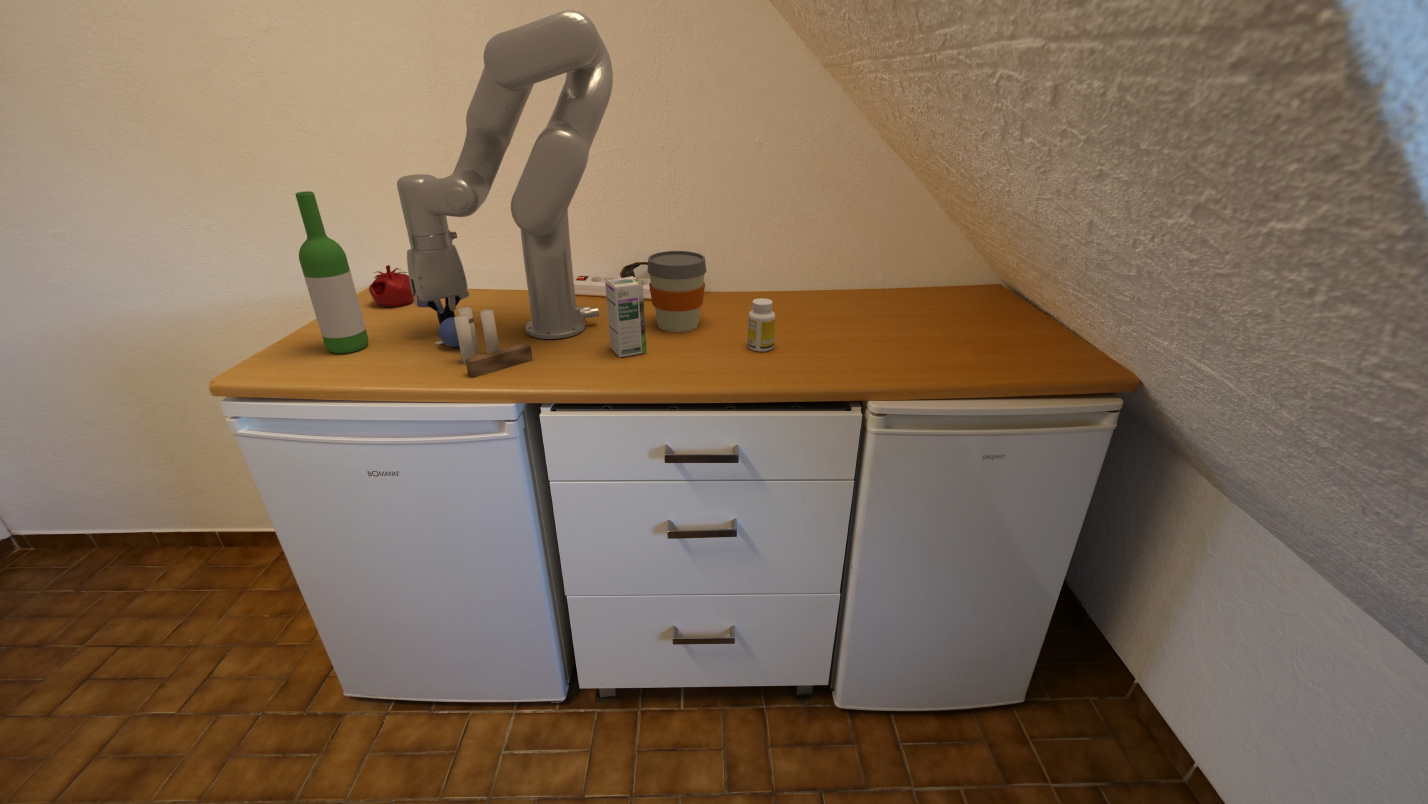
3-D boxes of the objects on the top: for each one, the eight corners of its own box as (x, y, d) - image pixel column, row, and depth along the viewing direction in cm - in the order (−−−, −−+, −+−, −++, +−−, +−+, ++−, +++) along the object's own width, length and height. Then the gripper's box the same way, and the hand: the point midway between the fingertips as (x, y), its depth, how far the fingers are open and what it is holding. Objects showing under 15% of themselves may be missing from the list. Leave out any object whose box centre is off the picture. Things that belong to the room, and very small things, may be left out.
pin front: (478, 348, 126) (470, 305, 122) (480, 352, 124) (472, 309, 120) (465, 350, 125) (457, 307, 121) (467, 355, 123) (458, 311, 119)
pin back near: (499, 351, 125) (492, 308, 120) (501, 356, 123) (494, 312, 118) (486, 353, 124) (479, 310, 119) (488, 358, 122) (481, 314, 118)
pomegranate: (413, 295, 156) (406, 257, 152) (421, 305, 149) (414, 267, 145) (369, 300, 151) (361, 262, 147) (375, 312, 144) (366, 272, 140)
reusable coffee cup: (673, 340, 131) (671, 269, 124) (638, 323, 139) (635, 257, 132) (717, 326, 138) (718, 259, 131) (682, 311, 147) (681, 247, 140)
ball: (474, 320, 124) (477, 347, 127) (460, 310, 128) (464, 336, 131) (444, 327, 120) (448, 355, 124) (431, 316, 124) (436, 344, 127)
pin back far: (475, 358, 122) (466, 314, 117) (476, 362, 120) (468, 318, 116) (462, 360, 121) (453, 316, 116) (463, 365, 119) (454, 320, 115)
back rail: (527, 356, 122) (525, 342, 121) (532, 360, 121) (530, 345, 120) (468, 374, 115) (465, 359, 114) (472, 377, 114) (469, 362, 113)
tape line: (473, 334, 133) (473, 333, 133) (475, 335, 132) (475, 334, 132) (435, 343, 128) (435, 342, 128) (437, 345, 127) (437, 344, 127)
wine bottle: (340, 358, 121) (293, 198, 107) (318, 349, 125) (270, 193, 111) (378, 345, 127) (338, 191, 113) (355, 337, 130) (314, 187, 116)
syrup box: (619, 358, 122) (615, 286, 115) (609, 348, 127) (604, 278, 120) (646, 353, 125) (643, 282, 118) (636, 343, 129) (632, 274, 122)
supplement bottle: (776, 344, 129) (779, 298, 125) (769, 354, 125) (772, 307, 120) (751, 340, 131) (753, 295, 126) (744, 350, 126) (745, 304, 122)
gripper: (460, 232, 130) (476, 316, 139) (384, 244, 121) (406, 332, 130) (475, 239, 125) (490, 325, 134) (397, 251, 116) (418, 342, 125)
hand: (448, 328), depth 132 cm, fingers closed
